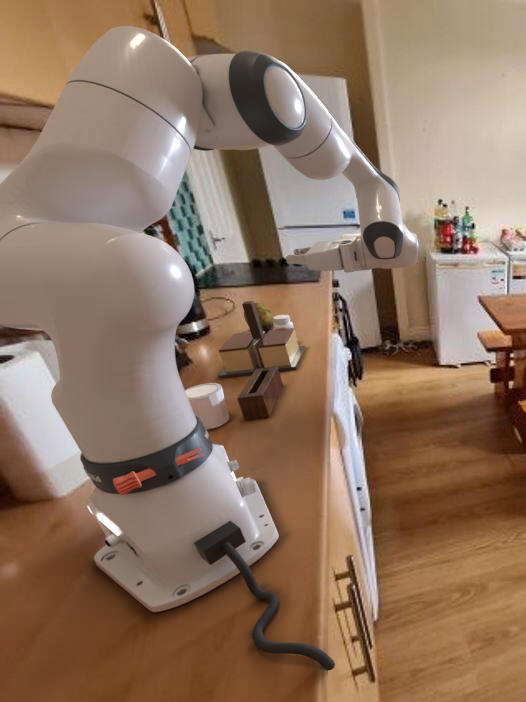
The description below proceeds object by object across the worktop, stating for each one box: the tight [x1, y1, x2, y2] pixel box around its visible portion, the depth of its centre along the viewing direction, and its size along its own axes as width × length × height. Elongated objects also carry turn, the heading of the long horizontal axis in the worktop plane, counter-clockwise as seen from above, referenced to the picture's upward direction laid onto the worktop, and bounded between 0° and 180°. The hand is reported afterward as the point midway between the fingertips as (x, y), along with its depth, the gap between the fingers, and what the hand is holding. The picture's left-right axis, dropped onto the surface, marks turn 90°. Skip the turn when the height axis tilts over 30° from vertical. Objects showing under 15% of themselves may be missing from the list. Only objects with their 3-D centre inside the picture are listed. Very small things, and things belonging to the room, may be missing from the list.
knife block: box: [236, 367, 284, 421], centre depth 87 cm, size 14×4×5 cm, turn 16°
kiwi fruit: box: [243, 301, 275, 334], centre depth 129 cm, size 8×13×8 cm, turn 23°
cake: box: [217, 327, 306, 379], centre depth 106 cm, size 15×17×7 cm
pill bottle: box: [272, 314, 298, 340], centre depth 117 cm, size 5×5×8 cm
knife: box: [241, 300, 267, 367], centre depth 104 cm, size 10×2×15 cm, turn 16°
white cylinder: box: [184, 382, 230, 430], centre depth 80 cm, size 7×7×7 cm
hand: (290, 256), depth 99 cm, fingers open, 8 cm apart
